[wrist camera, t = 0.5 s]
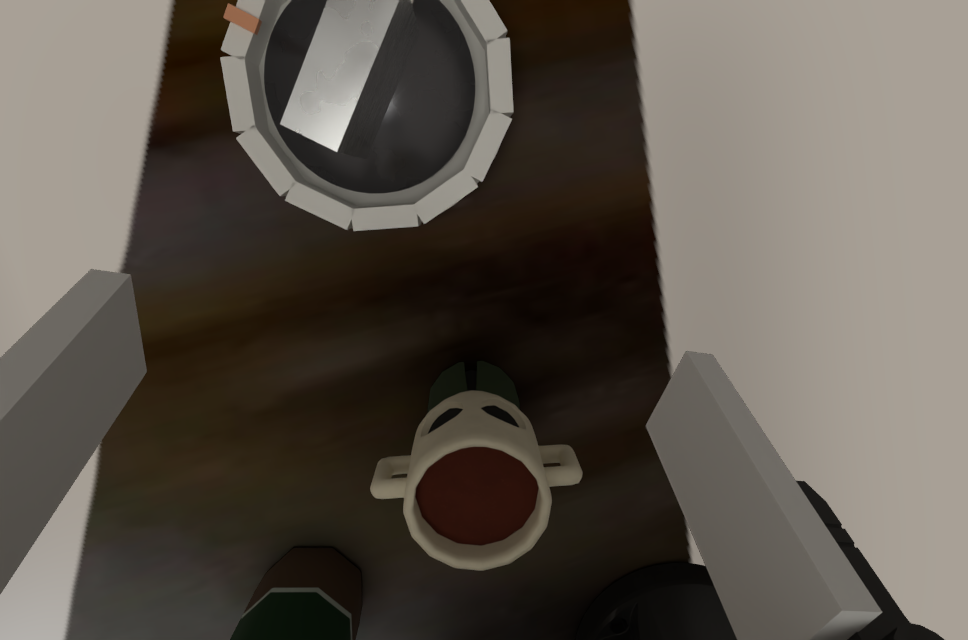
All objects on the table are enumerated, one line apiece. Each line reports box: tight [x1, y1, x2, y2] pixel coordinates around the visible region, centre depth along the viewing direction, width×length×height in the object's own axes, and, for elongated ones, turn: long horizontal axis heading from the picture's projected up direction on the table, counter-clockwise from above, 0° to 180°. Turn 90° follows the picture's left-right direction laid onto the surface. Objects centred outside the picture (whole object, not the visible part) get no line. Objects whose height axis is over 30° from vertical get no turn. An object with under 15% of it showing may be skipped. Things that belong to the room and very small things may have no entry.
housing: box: [220, 0, 513, 231], centre depth 31 cm, size 15×15×5 cm
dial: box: [264, 0, 475, 194], centre depth 26 cm, size 11×11×8 cm
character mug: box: [370, 361, 583, 571], centre depth 32 cm, size 11×7×13 cm, turn 94°
